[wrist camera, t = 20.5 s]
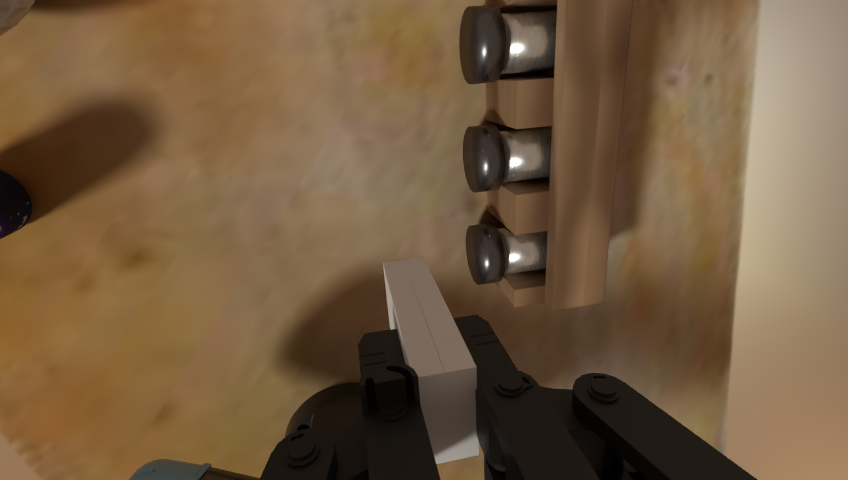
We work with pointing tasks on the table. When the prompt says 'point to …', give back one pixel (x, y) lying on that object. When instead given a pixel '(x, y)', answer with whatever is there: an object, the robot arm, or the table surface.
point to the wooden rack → (566, 150)
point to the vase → (13, 13)
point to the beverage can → (13, 205)
